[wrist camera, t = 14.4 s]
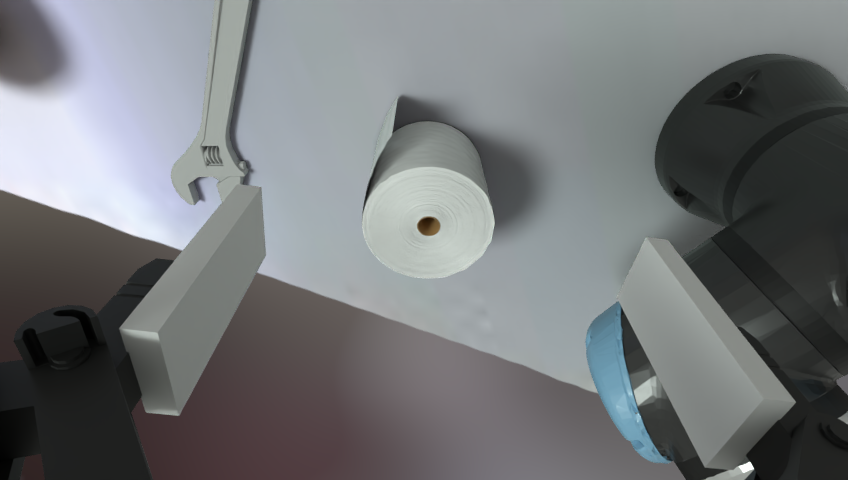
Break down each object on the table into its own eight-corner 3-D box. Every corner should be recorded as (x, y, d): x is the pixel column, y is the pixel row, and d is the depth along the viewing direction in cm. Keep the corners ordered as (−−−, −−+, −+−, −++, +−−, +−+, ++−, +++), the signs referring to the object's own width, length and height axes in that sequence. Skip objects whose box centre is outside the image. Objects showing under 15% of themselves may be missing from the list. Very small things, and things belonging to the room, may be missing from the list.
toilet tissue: (437, 236, 49) (440, 298, 40) (341, 176, 45) (322, 231, 36) (504, 161, 44) (522, 215, 35) (402, 87, 40) (396, 127, 32)
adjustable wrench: (231, -89, 33) (222, -90, 32) (314, -43, 35) (310, -42, 33) (174, 186, 46) (166, 194, 44) (237, 210, 47) (232, 219, 46)
